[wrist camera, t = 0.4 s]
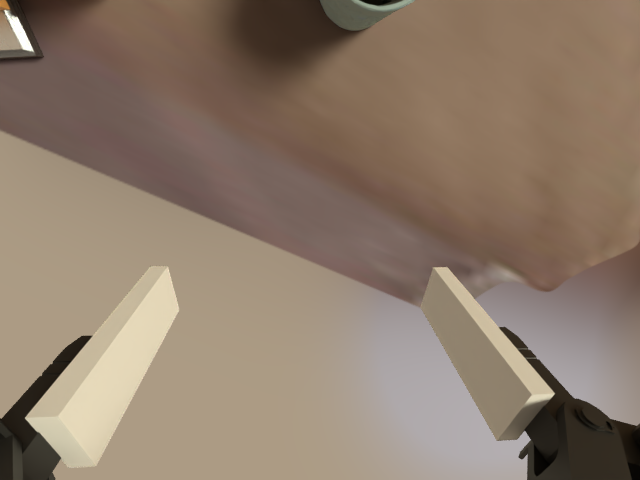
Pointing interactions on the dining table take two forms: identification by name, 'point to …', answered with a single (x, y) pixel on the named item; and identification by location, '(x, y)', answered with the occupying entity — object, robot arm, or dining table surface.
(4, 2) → the rail end clamp
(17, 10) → the grey shallow tray
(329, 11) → the green cup
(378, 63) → the dining table surface
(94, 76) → the dining table surface
